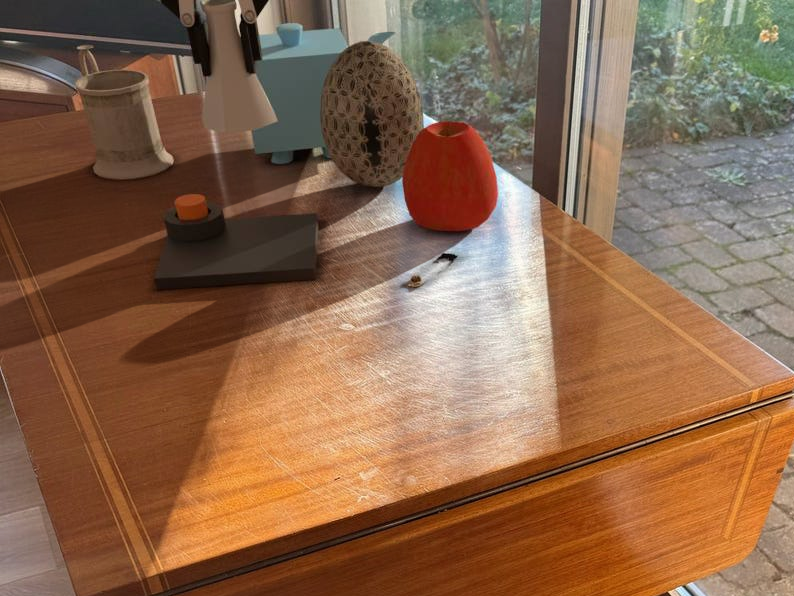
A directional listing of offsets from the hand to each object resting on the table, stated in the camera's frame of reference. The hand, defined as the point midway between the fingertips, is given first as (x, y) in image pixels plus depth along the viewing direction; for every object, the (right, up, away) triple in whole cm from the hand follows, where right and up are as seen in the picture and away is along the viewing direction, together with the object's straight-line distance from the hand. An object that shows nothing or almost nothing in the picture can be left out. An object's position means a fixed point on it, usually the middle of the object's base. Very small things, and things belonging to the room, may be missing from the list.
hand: (230, 68), depth 91 cm
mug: (-22, +8, +35) cm, 42 cm away
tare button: (-8, -7, +14) cm, 18 cm away
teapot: (+2, +11, +36) cm, 38 cm away
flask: (0, -3, +3) cm, 5 cm away
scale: (-2, -12, +13) cm, 18 cm away
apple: (+20, -7, +18) cm, 28 cm away
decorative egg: (+11, +1, +27) cm, 29 cm away
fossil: (+18, -15, +10) cm, 26 cm away
